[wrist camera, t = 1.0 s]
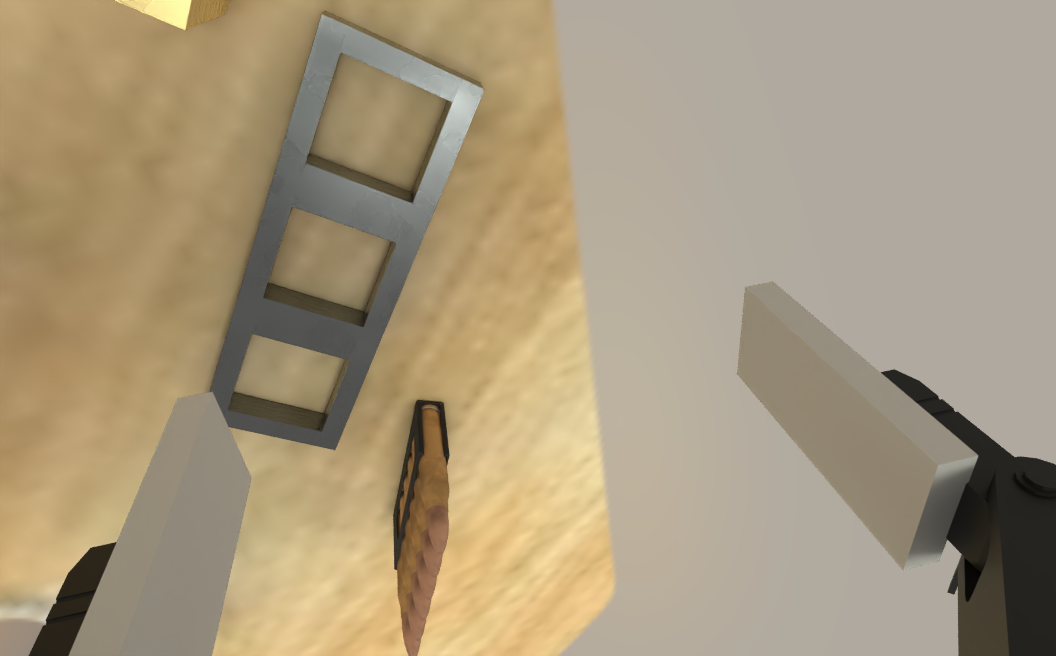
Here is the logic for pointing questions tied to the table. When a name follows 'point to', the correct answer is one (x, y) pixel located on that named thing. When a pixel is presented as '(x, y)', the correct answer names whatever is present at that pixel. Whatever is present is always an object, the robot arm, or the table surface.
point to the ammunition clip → (421, 518)
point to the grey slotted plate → (347, 203)
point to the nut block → (180, 10)
